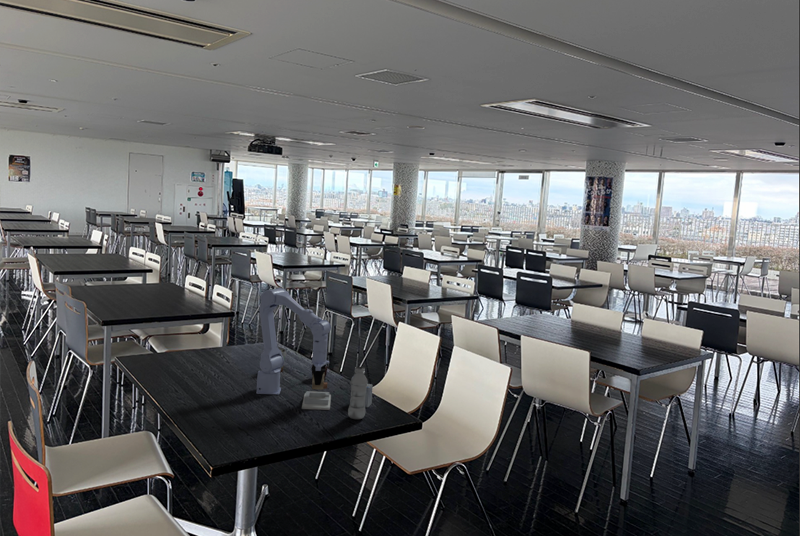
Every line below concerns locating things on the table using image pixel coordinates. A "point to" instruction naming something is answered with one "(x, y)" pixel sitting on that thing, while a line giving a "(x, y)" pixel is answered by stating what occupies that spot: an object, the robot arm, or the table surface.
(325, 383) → the keyed peg
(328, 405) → the keyed cradle
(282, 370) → the food container
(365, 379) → the plastic bottle
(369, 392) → the medicine box
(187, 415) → the table surface
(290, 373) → the table surface
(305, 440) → the table surface
